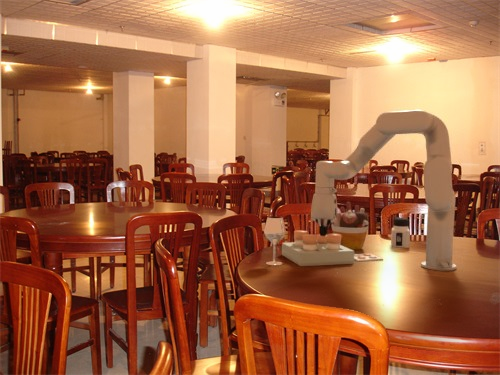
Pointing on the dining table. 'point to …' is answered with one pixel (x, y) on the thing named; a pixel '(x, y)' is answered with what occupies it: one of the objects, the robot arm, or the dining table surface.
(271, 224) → the wineglass
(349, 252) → the board
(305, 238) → the button
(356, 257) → the pattern tile
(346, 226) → the bucket of meat
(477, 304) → the dining table surface
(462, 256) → the dining table surface
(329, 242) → the button
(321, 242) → the button
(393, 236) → the container
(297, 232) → the button
